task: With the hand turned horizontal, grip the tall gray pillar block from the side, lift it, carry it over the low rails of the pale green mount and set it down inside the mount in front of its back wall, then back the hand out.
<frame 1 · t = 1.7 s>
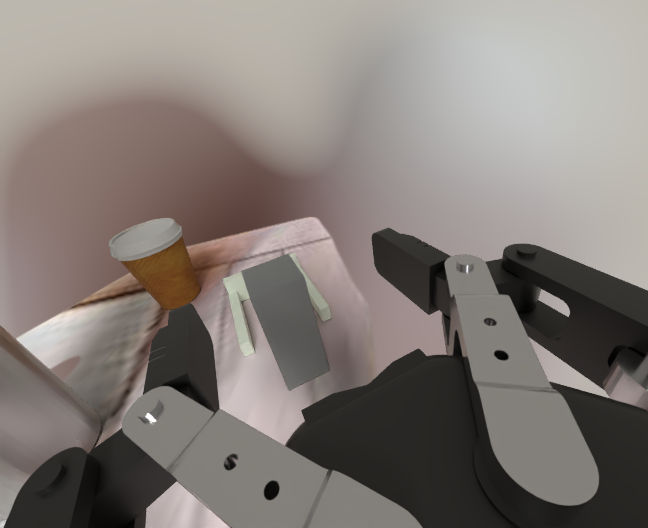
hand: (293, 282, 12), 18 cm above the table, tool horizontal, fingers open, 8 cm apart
mount: (279, 312, 38), on the table
disposable coffee cup: (181, 297, 46), on the table
tall gray pillar block: (302, 364, 30), on the table
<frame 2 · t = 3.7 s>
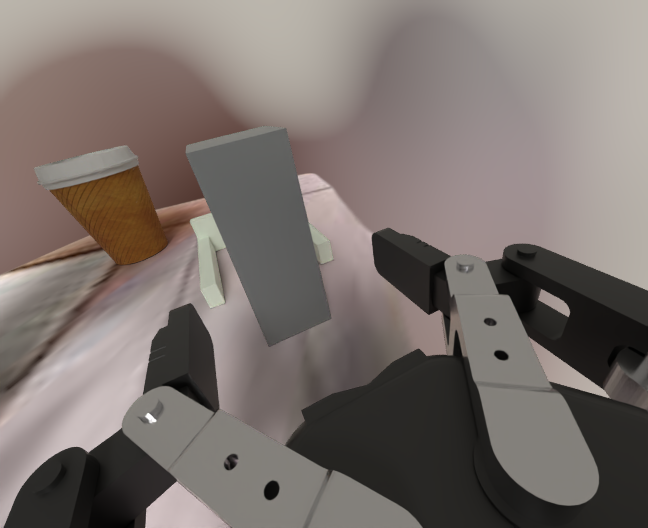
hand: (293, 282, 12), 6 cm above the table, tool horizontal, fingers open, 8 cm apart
mount: (263, 258, 28), on the table
disposable coffee cup: (143, 253, 36), on the table
tall gray pillar block: (290, 312, 20), on the table
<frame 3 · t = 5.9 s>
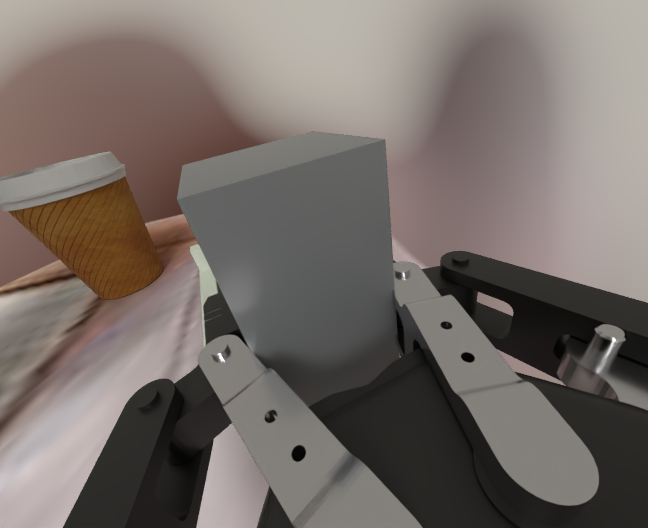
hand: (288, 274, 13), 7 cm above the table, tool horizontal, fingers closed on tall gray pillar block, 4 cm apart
mount: (285, 301, 22), on the table
disposable coffee cup: (133, 282, 30), on the table
tall gray pillar block: (337, 405, 14), on the table, touching gripper
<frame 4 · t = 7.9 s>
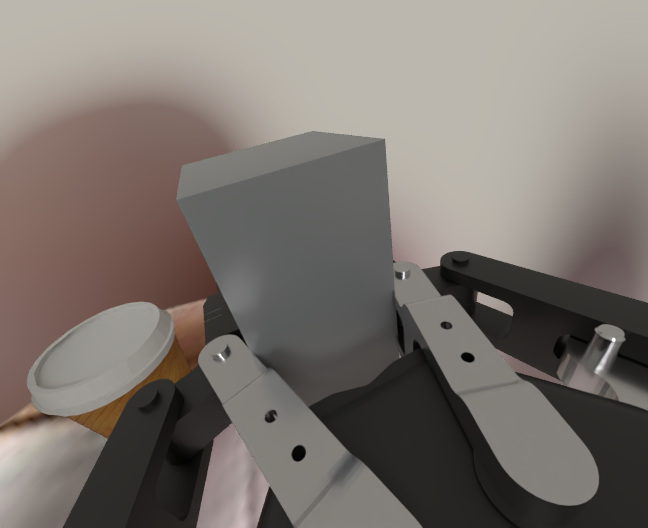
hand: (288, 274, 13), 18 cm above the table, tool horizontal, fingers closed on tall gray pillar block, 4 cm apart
disposable coffee cup: (175, 425, 27), on the table
tall gray pillar block: (337, 405, 14), point 11 cm above the table, touching gripper
when the fingers open (8 cm above the table, at t = 10.1 s): tall gray pillar block drops 1 cm, on the table.
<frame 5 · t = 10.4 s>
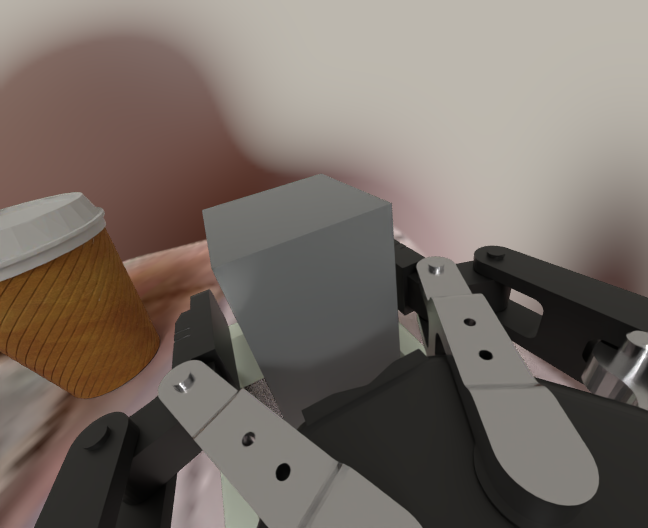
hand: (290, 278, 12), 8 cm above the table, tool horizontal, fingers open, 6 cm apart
mount: (349, 440, 14), on the table
disposable coffee cup: (119, 362, 22), on the table
tall gray pillar block: (342, 422, 15), on the table
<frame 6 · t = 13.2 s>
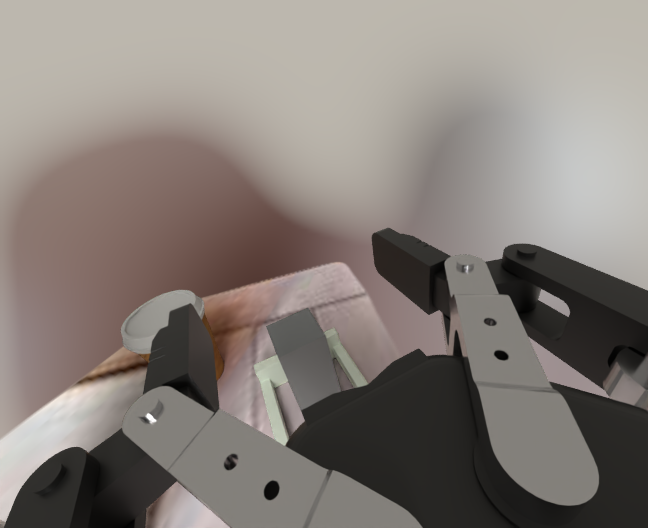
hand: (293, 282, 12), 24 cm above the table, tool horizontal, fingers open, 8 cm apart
mount: (323, 410, 31), on the table
disposable coffee cup: (202, 375, 40), on the table
tall gray pillar block: (320, 403, 32), on the table
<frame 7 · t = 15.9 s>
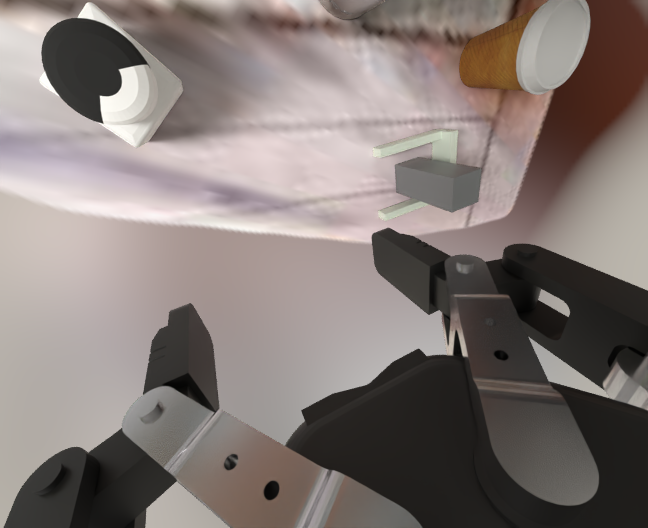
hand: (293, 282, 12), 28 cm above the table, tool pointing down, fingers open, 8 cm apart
mount: (402, 176, 45), on the table
disposable coffee cup: (474, 62, 42), on the table
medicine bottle: (131, 89, 28), on the table
tall gray pillar block: (407, 175, 45), on the table
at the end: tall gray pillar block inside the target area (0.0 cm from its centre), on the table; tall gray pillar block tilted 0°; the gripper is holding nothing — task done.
